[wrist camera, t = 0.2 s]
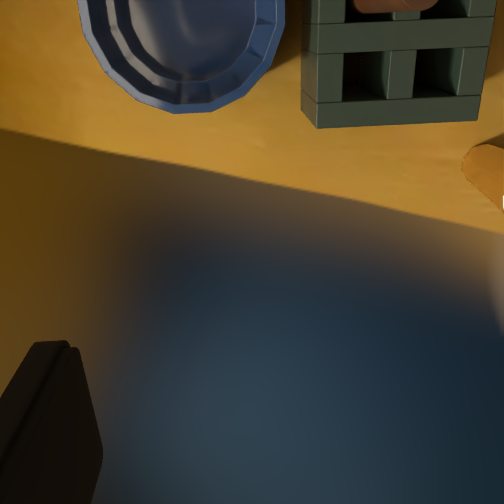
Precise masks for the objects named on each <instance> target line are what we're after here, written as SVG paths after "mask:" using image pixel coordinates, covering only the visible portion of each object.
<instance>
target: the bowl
mask: <svg viewBox="0 0 504 504" xmlns="http://www.w3.org/2000/svg"><path fill="white" fill-rule="evenodd" d="M77 3H78V8H79V14H80V19H81V25H82V31H83V34H84V37H85V39H86V40H87V42H88V44H89V46H90V47H91V49H92V51H93V53H94V54H95V56H96V58H97V60H98V61H99V63H100V65H101V67H102V68H103V70H104V72H105V73H106V74H107V75H108V76H109V77H110V78H111V79H112V80H114V81H115V82H116V83H117V84H118V85H119V86H120V87H122V88H123V89H124V90H125V91H126V92H127V93H129V94H130V95H131V96H132V97H133V98H134V99H136V100H137V101H139V102H142V103H144V104H147V105H150V106H153V107H156V108H158V109H161V110H164V111H167V112H170V113H172V114H184V113H204V112H213V111H215V110H217V109H219V108H221V107H223V106H225V105H227V104H229V103H231V102H233V101H235V100H237V99H239V98H241V97H243V96H245V95H246V94H247V93H248V92H249V91H250V89H251V88H252V87H253V86H254V85H255V84H256V83H257V81H258V80H259V79H260V78H261V77H262V76H263V75H264V73H265V72H266V71H267V70H268V69H269V68H270V66H271V65H272V62H273V59H274V56H275V54H276V51H277V48H278V45H279V43H280V40H281V37H282V34H283V31H284V29H285V24H286V12H285V0H77Z"/></svg>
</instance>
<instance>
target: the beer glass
mask: <svg viewBox="0 0 504 504" xmlns="http://www.w3.org/2000/svg"><path fill="white" fill-rule="evenodd" d="M461 170H462V172H463V174H464V176H465V178H466V180H467V181H469V182H470V183H471V184H472V185H473V186H474V187H475V188H476V189H477V190H479V191H480V192H481V193H482V194H483V195H484V196H485V197H486V198H488V199H489V200H490V201H491V202H492V203H493V204H494V205H495V206H496V207H497V208H498V209H499V210H500V211H501V212H502V213H503V214H504V149H502V148H499V147H496V146H493V145H490V144H486V143H485V144H482V145H479V146H476V147H473V148H472V149H471V150H470V151H469V152H468V153H467V154H466V155H465V156H464V158H463V163H462V168H461Z"/></svg>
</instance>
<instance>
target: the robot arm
mask: <svg viewBox="0 0 504 504" xmlns="http://www.w3.org/2000/svg"><path fill="white" fill-rule="evenodd" d="M102 459H103V447H102V442H101V438H100V434H99V430H98V426H97V421H96V417H95V413H94V409H93V405H92V401H91V397H90V392H89V389H88V384H87V380H86V376H85V372H84V368H83V363H82V360H81V355H80V352H79V349H78V348H76V347H70V345H69V343H68V342H67V341H65V340H60V341H43V342H35V343H34V344H33V345H32V346H31V348H30V349H29V351H28V353H27V354H26V356H25V358H24V360H23V361H22V363H21V364H20V366H19V368H18V370H17V371H16V373H15V374H14V376H13V378H12V379H11V381H10V383H9V384H8V386H7V388H6V389H5V391H4V392H3V394H2V396H1V398H0V504H91V501H92V498H93V494H94V490H95V487H96V483H97V480H98V476H99V473H100V469H101V466H102Z"/></svg>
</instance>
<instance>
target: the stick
mask: <svg viewBox="0 0 504 504" xmlns="http://www.w3.org/2000/svg"><path fill="white" fill-rule="evenodd" d="M437 1H438V0H346V11H345V14H365V13H386V12H406V11H423V10H426V9H429V8H430V7H432V6H433V5H435V4H436V3H437Z"/></svg>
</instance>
